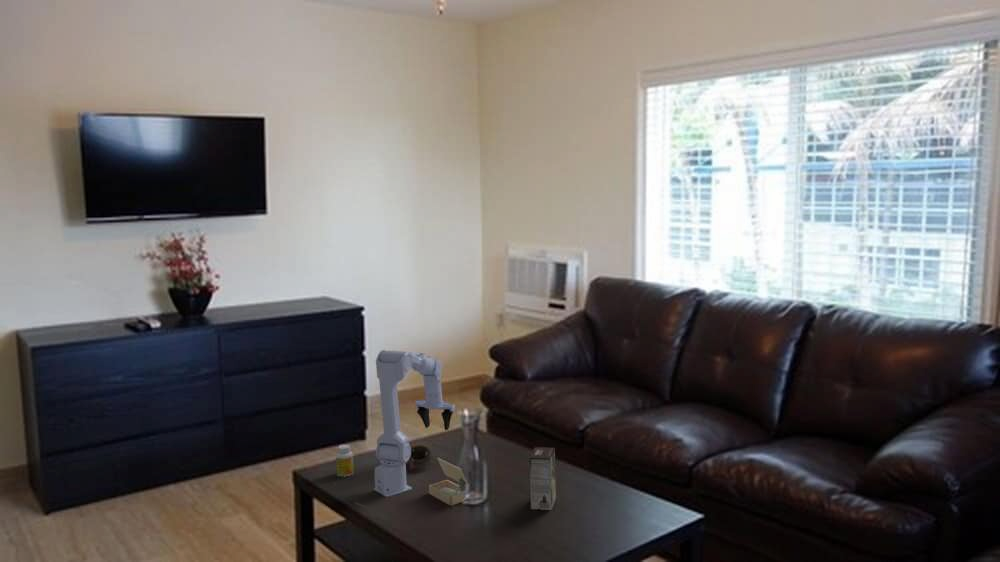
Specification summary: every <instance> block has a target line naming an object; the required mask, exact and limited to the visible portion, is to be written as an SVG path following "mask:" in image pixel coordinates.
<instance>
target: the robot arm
mask: <svg viewBox="0 0 1000 562" xmlns="http://www.w3.org/2000/svg"><path fill="white" fill-rule="evenodd" d="M375 367H376V377H377V378H378V380H379V390H380V392H379V393H380V401H381V402H380V403H381V404H380V405H381V414H382V425H383V433H382V434H380V435H379V436H378V437H377V439H376V448H375V455H376V458H377V459H378V460H379V462H380V465H378V466H376V467H375V468H374V488H373V490H374V491H375V492H378V493H379V494H381V495H382V496H384V497H391V496H394V495H398V494H401V493H403V492H406V491H410V490H412V489H413V487H412V486H410V485H408V484H407V468H406V467H407V466H406V463H408V462H407V461H408V460H409V458H410V456H411V448H412V446H411V445H410V443H409V442H410V441H409V437H408V436H407V435H406V434H405V433H404V432H402V429H401V428H402V427H401V418H400V406H399V396H398V395H399V394H398V383H399V382H401V381H403V380H404V378H405V377H406V376H407V374H408V373H409V371H410V370H411V369H412V370H413V371H415V372H418V373H419V376H422V377H423V378H422V379H423V385H424V388H423V389H424V395H425V396H424V397H425V400H416V401H415V402H414V405H415V408H416V409H417V410H416V413H417V414H418V415H419V417H420V419H421V420H422V423H423V424H424V427H425V429H428V428H429V427H430V426H431V425H430V424H431V421H430V410H442V412H441V413H440V414H441V417H442V421H443V426H444V430H445V431H448V430H449V429H450V426H451V424H450V423H451V418H452V415H453V413H454V411H455V410H456V405H455V404H454V403H450V402H447V401H445V400H443V393H442V391H443V390H442V383H441V379H442V372H443V364H442V362H441V361H440V360H439V359H437V358H436V359H434V358H432V357H431V356H425V353H424V352H423V353H422V352H420V353H418V354H414V353H412V352H411V351H401V350H400V351H399V350H386V349H382V350H380V352H378V355H377V357H376V359H375Z"/></svg>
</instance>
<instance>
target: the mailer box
mask: <svg viewBox="0 0 1000 562" xmlns="http://www.w3.org/2000/svg"><path fill="white" fill-rule="evenodd" d="M459 486H460V484H457V483H455V482H453V481H451V480H449V479H445V480H441V481H439V482H435V483H432V484H428V494H429V495H431V496H433V497H434V498H436V499H437V500H440V501H442V502H443V503H445V504H446V505H449V506H454V505H457V504H460V503H463V502H464V501H463V500H464V498H465V495H466V494H467V492H463V493H459V494H456V495H453V496H450V495H448V494H446V493H444V492H442V491H440V490H439V489H442V488H444V487H447V488H450V489H453V490H455V491H458V489H459ZM462 501H463V502H462Z"/></svg>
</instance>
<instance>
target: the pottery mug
mask: <svg viewBox="0 0 1000 562" xmlns="http://www.w3.org/2000/svg"><path fill="white" fill-rule="evenodd" d="M431 455H433V453H432V451H430V448H428V447H427V446H425V445H422V444H417V445H414V446H411V456H410V458H409V460H408V461H407V462H406V463H409V464H408V469H409V470H410V471H412V470H413V471H414V469H415V470H416V469H419V468H422V467H425V466H426V465H428V464H429V463H430V462H433V458H432V457H431ZM429 461H430V462H429Z"/></svg>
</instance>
